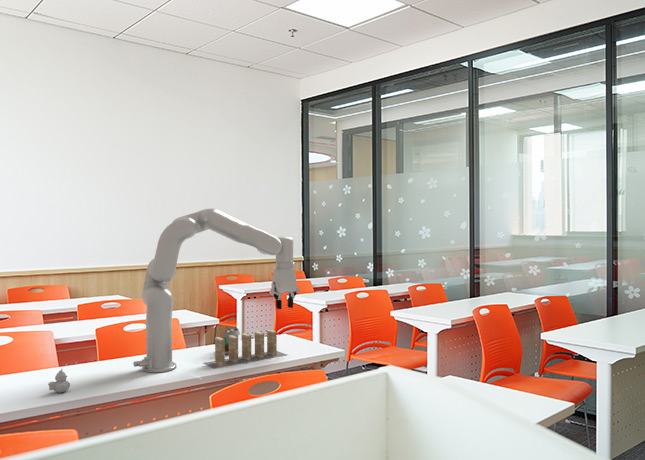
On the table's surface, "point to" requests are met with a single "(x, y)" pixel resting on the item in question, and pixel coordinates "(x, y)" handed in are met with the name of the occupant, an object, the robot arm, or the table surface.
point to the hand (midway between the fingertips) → (284, 307)
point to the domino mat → (243, 360)
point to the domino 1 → (219, 351)
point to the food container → (226, 334)
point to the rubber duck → (59, 383)
